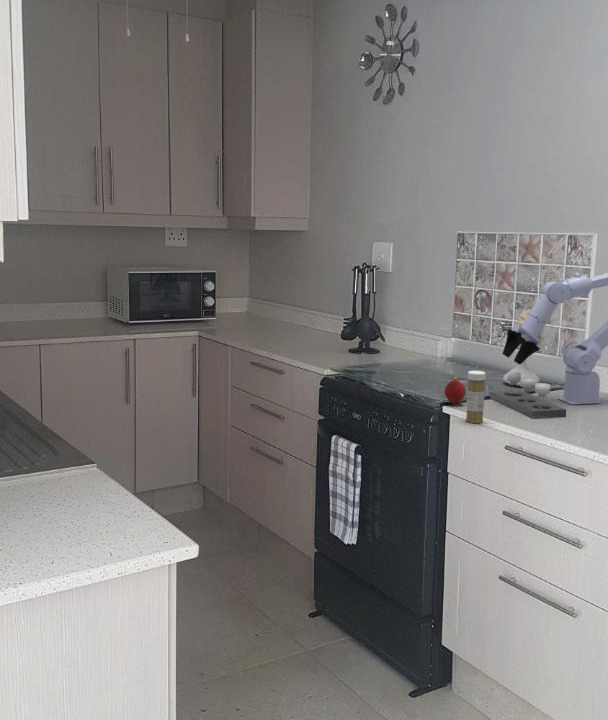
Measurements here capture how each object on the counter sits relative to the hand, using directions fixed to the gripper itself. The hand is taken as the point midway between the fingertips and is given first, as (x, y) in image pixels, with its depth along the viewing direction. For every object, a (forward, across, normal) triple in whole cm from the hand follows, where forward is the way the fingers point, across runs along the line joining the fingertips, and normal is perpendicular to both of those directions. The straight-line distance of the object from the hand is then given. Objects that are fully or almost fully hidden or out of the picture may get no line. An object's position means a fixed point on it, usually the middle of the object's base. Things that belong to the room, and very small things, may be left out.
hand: (511, 359), depth 241 cm
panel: (+9, -3, +10) cm, 14 cm away
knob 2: (+4, +3, +16) cm, 17 cm away
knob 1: (+6, -5, +2) cm, 8 cm away
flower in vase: (+5, -27, -7) cm, 29 cm away
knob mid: (+5, -1, +9) cm, 10 cm away
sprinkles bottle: (+19, +20, +12) cm, 30 cm away
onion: (+20, +8, -3) cm, 21 cm away
